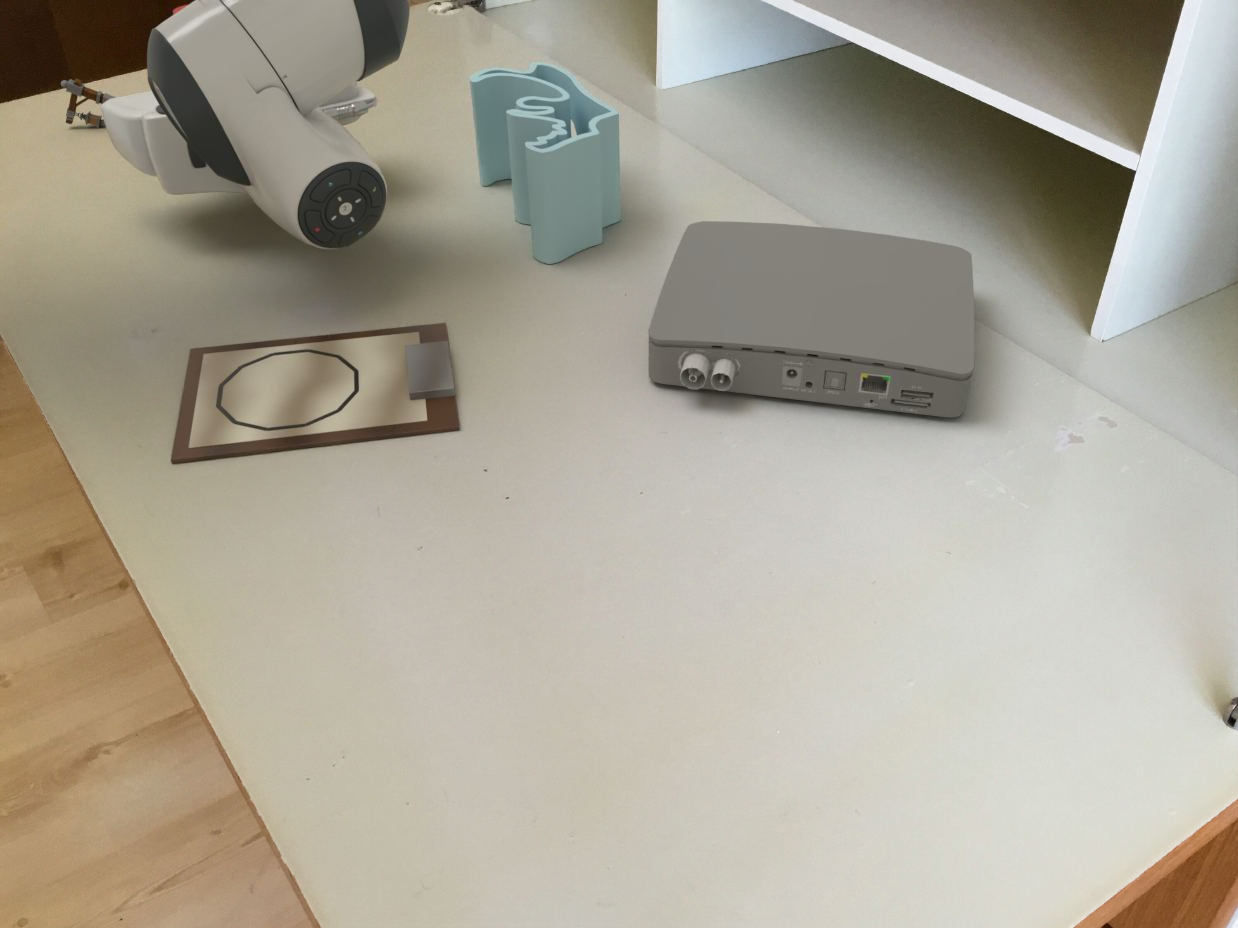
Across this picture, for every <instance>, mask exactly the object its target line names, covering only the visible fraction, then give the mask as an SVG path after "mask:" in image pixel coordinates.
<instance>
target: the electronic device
mask: <svg viewBox="0 0 1238 928" xmlns="http://www.w3.org/2000/svg"><path fill="white" fill-rule="evenodd" d="M973 271H974V270H973V258H972V253H971V252H970V251H968V250H966V249H965V248H962V247H960V246H957V245H951V244H946V243H940V242H935V241H930V240H924V239H917V238H911V237H906V236H898V235H891V234H885V233H877V232H869V231H868V232H867V231H860V230H853V229H846V228H845V229H844V228H837V227H824V226H812V225H801V224H800V225H798V224H788V223H787V224H786V223H771V222H750V221H749V222H748V221H747V222H746V221H715V220H712V221H711V220H702V221H697V222H693V223H690V224H688V225H687V226H686V229H685V231H684V232H683V235H682V236H681V240H680V241H679V244H678V246H677V247H676V251H675V252H674V255H673V258H672V260H671V263H670V266H669V268H668V271H667V273H666V276H665V279H664V282H663V285H662V287H661V291H660V293H659V295H658V296H659V297H658V299H657V302H656V305H655V307H654V310H653V315H652V318H651V321H650V325H649V328H648V334H647V335H648V377H649V379H650V380H651V381H652V382H654V383H657V384H661V385H669V386H677V387H684V388H687V389H689V390H700V389H703V390H711V391H712V390H713V391H719V392H720V391H721V392H729V393H737V394H744V395H745V394H746V395H753V396H755V395H756V396H763V397H770V398H771V397H772V398H778V399H788V400H797V401H805V402H813V403H820V404H821V403H822V404H831V405H837V406H838V405H839V406H847V407H855V408H864V409H865V408H866V409H872V410H873V409H874V410H882V411H890V412H900V413H906V414H916V415H925V416H933V417H940V418H957V417H960V416H961V415H962V414H964V412H965V410H966V404H967V401H968V395H969V391H970V387H971V382H972V377H973V372H974V369H975V292H974V289H975V288H974V272H973Z"/></svg>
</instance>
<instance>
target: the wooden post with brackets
mask: <svg viewBox="0 0 1238 928" xmlns="http://www.w3.org/2000/svg"><path fill="white" fill-rule="evenodd" d="M60 85H61V87H62V88H63V89H65V92H66V93H70V98H69V103H68V107H67V109H66V113H65V116H66V118H65V124H68V125H72V124H73V122H74V119H75V116H76V117H77V118H80V120H81V121H82V120H84V122H85V126H88V124H89V125H91V126H94V127H96V128H97V129H99V128H100V127H106V126H105V122H104V119H103V115H97V114H93V113H91V112H92V111H91V110H89V111H88V112H87V113H84V112H81V113H80V112H77V107H80V105H82V104H83V103H86V102H87V101H88V100H90V101H94V102H95V104H97V105H100V104H101V105H102V104H103V103H104V102H105V101H107V100H109V99H111V98H116V97H117V96H114V95H111V94H109V93H107V92H105V93H103V91H102V90H98V91H97V90H95V89H92V88H90V87H88V86H86V84H84V83H82V80H81V79H79V78H75V80H73V79H72V78H70V79H69V80H66V79H64V80H61V82H60ZM78 97H79V98H81V97H84V98H83V99H80V101H78ZM77 101H78V102H77Z"/></svg>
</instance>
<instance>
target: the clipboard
mask: <svg viewBox="0 0 1238 928" xmlns="http://www.w3.org/2000/svg"><path fill="white" fill-rule="evenodd" d="M451 360H452V359H451V352H450V345H449V337H448V329H447V323H446V322H440V323H439V322H438V323H429V324H428V323H427V324H419V325H410V326H400V327H390V328H388V327H387V328H382V329H381V328H379V329H370V330H369V329H368V330H361V331H360V330H359V331H350V332H341V333H331V334H321V335H311V336H300V337H291V338H290V337H289V338H282V339H281V338H280V339H271V340H263V341H261V340H260V341H253V342H252V341H251V342H242V343H231V344H223V345H213V346H212V345H211V346H204V347H203V346H202V347H193V348H190V349H189V355H188V359H187V365H186V372H185V378H184V382H183V389H182V394H181V399H180V405H179V411H178V417H177V421H176V428H175V432H174V433H175V434H174V439H173V445H172V449H171V457H170V463H171V464H180V463H188V462H197V461H205V460H207V461H208V460H213V459H223V458H231V457H239V456H248V455H257V454H264V453H265V454H266V453H274V452H282V451H283V452H284V451H290V450H291V451H292V450H298V449H299V450H301V449H307V448H316V447H326V446H332V445H333V446H334V445H340V444H341V445H342V444H349V443H359V442H367V441H373V440H374V441H375V440H384V439H393V438H401V437H409V436H416V435H417V436H418V435H427V434H434V433H435V434H436V433H442V432H443V433H444V432H450V431H451V432H452V431H459V430H460V428H461V427H460V422H459V421H460V420H459V413H458V406H457V398H456V391H455V383H454V376H453V368H452V361H451Z"/></svg>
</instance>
